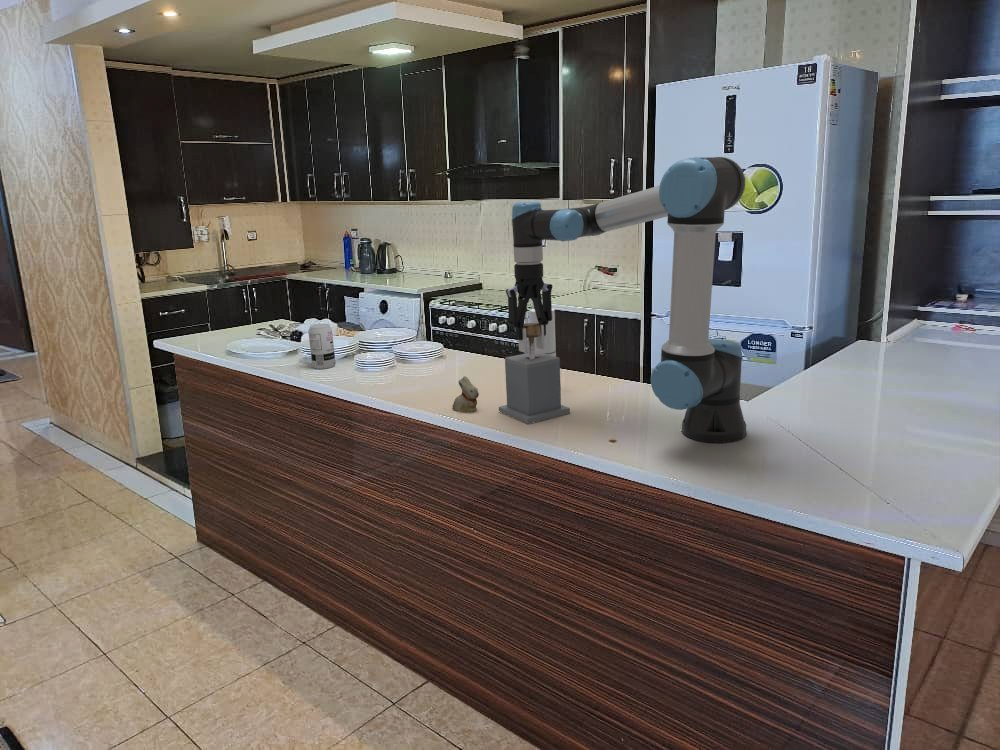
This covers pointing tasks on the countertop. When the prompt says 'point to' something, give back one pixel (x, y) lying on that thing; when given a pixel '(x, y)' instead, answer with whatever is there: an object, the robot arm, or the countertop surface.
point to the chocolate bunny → (466, 397)
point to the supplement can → (321, 346)
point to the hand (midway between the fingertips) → (531, 349)
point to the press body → (533, 388)
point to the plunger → (532, 337)
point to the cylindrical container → (550, 334)
